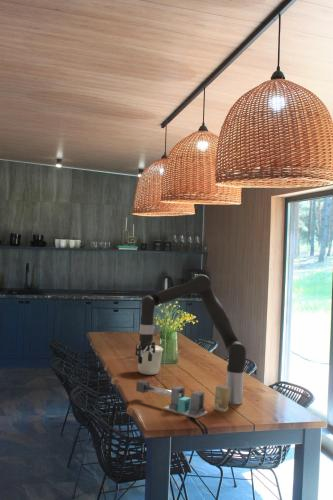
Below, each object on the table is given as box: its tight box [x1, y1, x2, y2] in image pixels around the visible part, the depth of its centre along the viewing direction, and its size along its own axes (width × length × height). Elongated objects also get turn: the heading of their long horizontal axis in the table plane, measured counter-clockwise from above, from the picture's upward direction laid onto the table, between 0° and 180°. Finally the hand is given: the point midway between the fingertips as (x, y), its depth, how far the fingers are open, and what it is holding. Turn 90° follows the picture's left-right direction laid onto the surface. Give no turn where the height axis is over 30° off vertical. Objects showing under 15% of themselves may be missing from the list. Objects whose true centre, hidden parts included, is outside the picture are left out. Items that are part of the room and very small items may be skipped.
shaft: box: [135, 379, 182, 398], centre depth 270 cm, size 28×5×5 cm, turn 54°
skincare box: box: [213, 384, 230, 413], centre depth 266 cm, size 6×4×12 cm
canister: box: [137, 344, 164, 376], centre depth 338 cm, size 18×18×21 cm
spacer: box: [177, 396, 191, 411], centre depth 260 cm, size 6×4×6 cm, turn 144°
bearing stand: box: [162, 385, 208, 419], centre depth 260 cm, size 11×20×11 cm, turn 54°
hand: (144, 362), depth 277 cm, fingers open, 8 cm apart
